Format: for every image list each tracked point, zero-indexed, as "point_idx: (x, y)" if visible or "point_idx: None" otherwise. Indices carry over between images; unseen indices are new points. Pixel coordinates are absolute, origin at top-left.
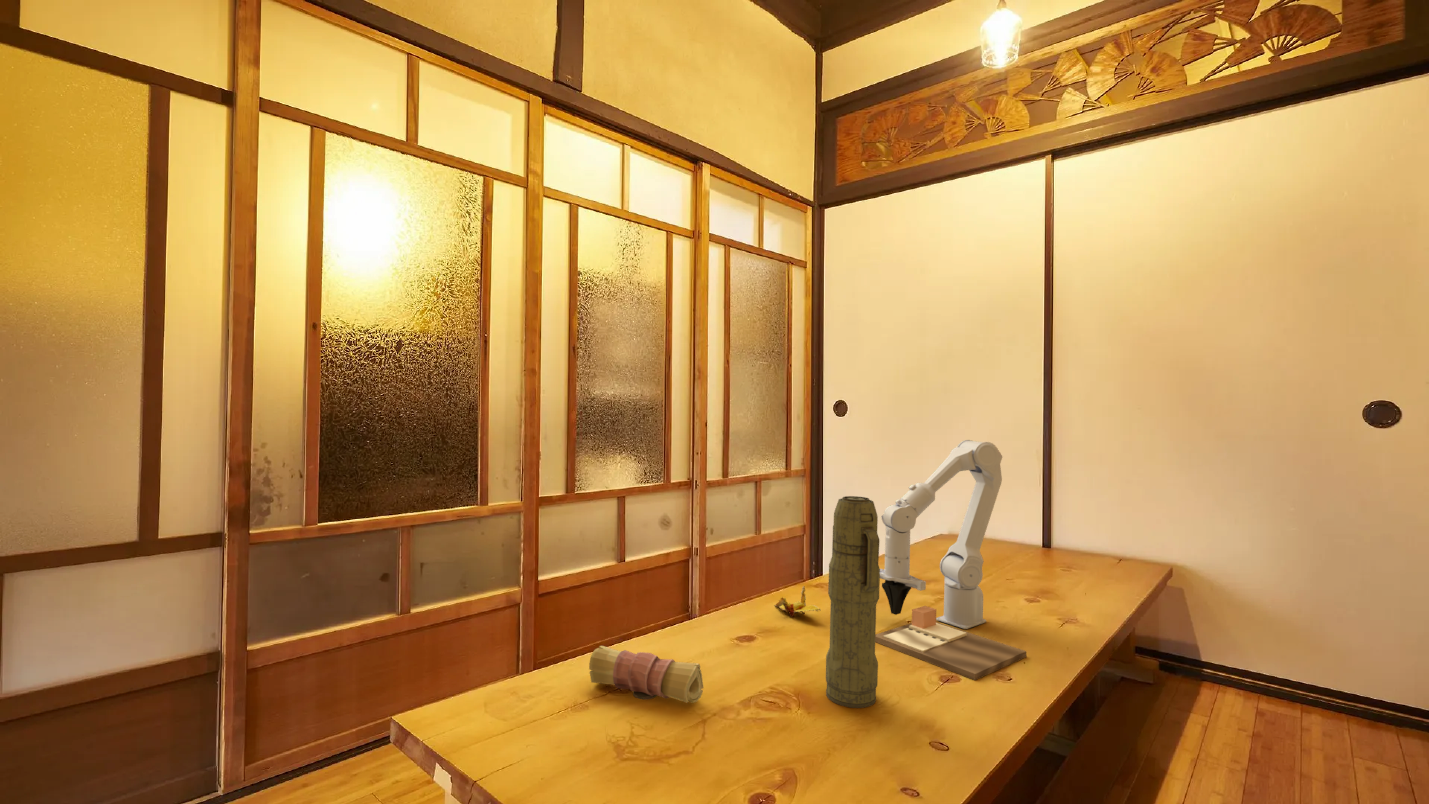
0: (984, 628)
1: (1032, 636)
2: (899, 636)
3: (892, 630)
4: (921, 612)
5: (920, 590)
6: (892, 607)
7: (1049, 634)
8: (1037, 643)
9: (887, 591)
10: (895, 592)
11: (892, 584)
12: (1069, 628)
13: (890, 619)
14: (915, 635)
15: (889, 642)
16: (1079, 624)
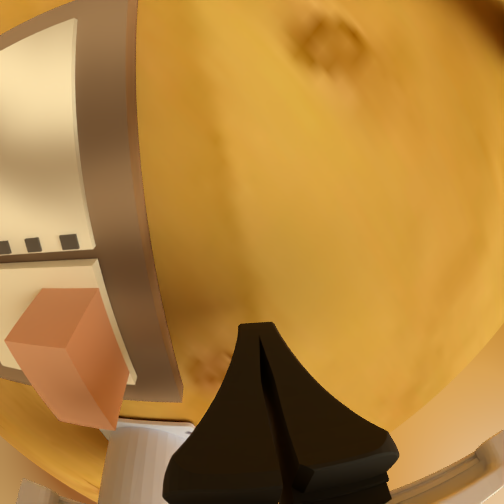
0: (98, 439)
1: (46, 443)
2: (24, 101)
3: (114, 147)
4: (12, 341)
5: (22, 479)
6: (262, 345)
7: (55, 458)
8: (13, 421)
9: (319, 421)
10: (217, 441)
11: (301, 496)
12: (78, 480)
13: (301, 324)
14: (7, 195)
15: (30, 20)
16: (92, 491)
